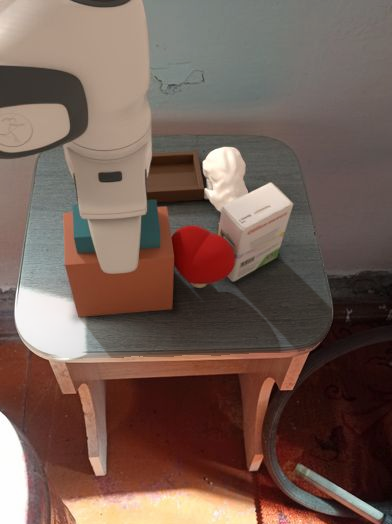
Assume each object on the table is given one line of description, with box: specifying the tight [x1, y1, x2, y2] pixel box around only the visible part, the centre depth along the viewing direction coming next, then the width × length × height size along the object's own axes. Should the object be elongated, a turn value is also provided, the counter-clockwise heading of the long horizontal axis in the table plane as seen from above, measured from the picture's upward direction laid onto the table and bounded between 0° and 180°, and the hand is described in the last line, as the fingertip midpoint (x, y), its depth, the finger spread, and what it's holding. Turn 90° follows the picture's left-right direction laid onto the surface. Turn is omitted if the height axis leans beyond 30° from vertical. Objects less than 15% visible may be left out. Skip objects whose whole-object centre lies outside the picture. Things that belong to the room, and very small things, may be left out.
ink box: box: [217, 182, 294, 283], centre depth 78 cm, size 8×5×12 cm, turn 125°
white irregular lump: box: [202, 146, 249, 225], centre depth 84 cm, size 6×8×12 cm
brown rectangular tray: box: [147, 150, 205, 203], centre depth 88 cm, size 13×8×2 cm, turn 97°
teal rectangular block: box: [71, 200, 160, 253], centre depth 68 cm, size 10×5×3 cm, turn 98°
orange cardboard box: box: [62, 206, 175, 318], centre depth 74 cm, size 13×8×12 cm, turn 97°
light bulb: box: [171, 224, 235, 289], centre depth 76 cm, size 9×7×10 cm
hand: (117, 231), depth 68 cm, fingers closed on teal rectangular block, 5 cm apart
